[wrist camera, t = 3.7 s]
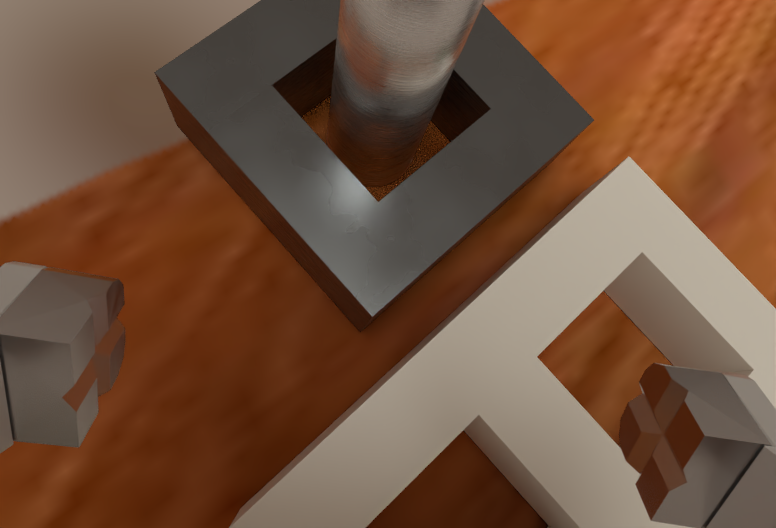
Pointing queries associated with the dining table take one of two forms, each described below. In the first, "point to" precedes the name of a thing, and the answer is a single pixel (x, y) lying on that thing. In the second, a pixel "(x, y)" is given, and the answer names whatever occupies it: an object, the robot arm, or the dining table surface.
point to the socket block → (331, 177)
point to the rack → (536, 370)
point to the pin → (391, 79)
